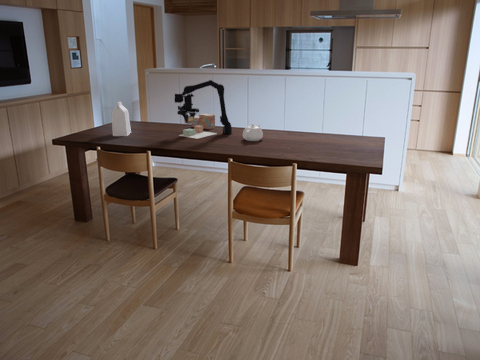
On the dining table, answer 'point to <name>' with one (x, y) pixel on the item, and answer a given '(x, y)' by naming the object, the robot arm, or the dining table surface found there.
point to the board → (199, 135)
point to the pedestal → (189, 132)
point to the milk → (120, 121)
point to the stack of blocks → (204, 121)
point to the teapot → (252, 133)
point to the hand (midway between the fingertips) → (188, 122)
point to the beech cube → (189, 120)
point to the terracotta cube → (198, 128)
